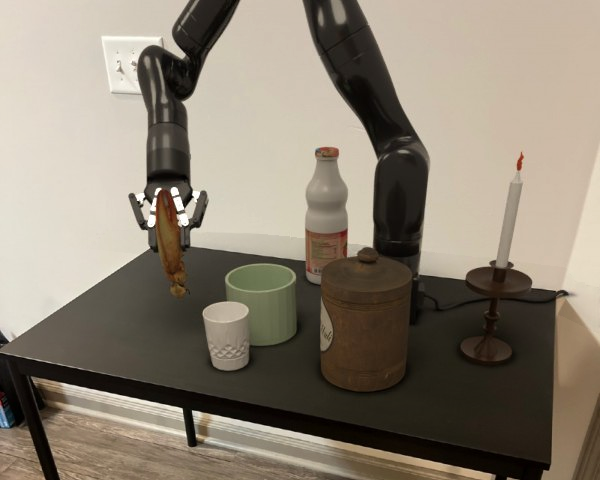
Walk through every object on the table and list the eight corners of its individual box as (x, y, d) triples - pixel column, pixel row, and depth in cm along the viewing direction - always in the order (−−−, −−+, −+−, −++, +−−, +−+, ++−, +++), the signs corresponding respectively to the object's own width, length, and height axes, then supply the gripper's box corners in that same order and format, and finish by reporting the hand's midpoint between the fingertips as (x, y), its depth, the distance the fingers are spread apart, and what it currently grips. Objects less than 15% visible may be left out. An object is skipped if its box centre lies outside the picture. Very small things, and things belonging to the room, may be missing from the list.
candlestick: (508, 374, 104) (553, 162, 84) (446, 359, 109) (476, 154, 89) (522, 346, 112) (566, 146, 92) (464, 333, 117) (495, 139, 97)
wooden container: (336, 342, 114) (338, 228, 102) (413, 356, 110) (425, 238, 97) (308, 383, 103) (306, 260, 91) (393, 400, 99) (404, 273, 86)
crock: (300, 315, 124) (300, 264, 118) (292, 347, 113) (290, 293, 107) (237, 312, 125) (233, 262, 119) (223, 344, 115) (217, 290, 108)
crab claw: (181, 310, 107) (153, 198, 95) (157, 306, 109) (126, 196, 96) (201, 291, 112) (177, 182, 99) (177, 288, 114) (151, 181, 101)
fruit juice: (298, 274, 141) (296, 147, 125) (334, 266, 144) (336, 142, 128) (317, 289, 134) (317, 156, 118) (354, 281, 138) (358, 151, 122)
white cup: (234, 377, 105) (229, 326, 99) (199, 365, 109) (193, 315, 103) (260, 357, 111) (257, 307, 105) (226, 346, 114) (221, 297, 108)
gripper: (121, 147, 102) (121, 242, 99) (206, 144, 102) (208, 239, 99) (132, 171, 109) (133, 261, 106) (212, 168, 110) (214, 257, 107)
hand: (169, 250), depth 103 cm, fingers closed on crab claw, 4 cm apart
